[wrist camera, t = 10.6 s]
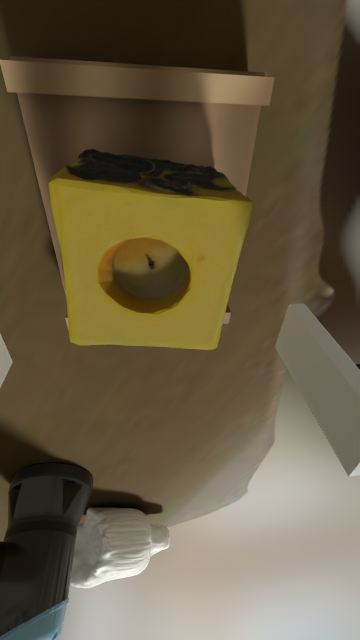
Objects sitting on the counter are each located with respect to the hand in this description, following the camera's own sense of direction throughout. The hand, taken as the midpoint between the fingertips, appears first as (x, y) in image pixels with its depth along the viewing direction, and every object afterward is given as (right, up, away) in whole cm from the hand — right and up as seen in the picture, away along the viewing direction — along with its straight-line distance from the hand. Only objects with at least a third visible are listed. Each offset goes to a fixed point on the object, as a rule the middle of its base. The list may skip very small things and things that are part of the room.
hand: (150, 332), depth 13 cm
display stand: (-2, +11, +14) cm, 18 cm away
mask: (-13, -47, +58) cm, 75 cm away
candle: (-1, +9, +11) cm, 14 cm away
